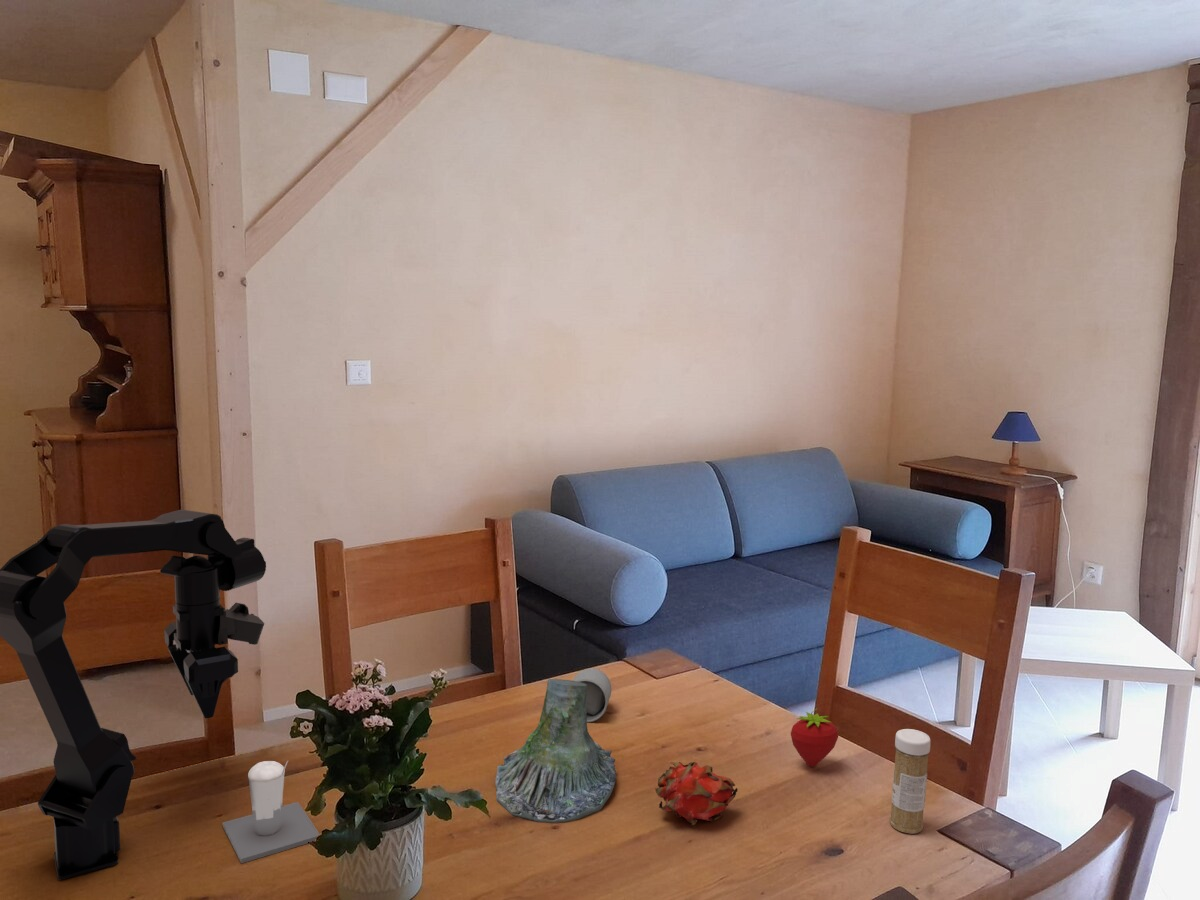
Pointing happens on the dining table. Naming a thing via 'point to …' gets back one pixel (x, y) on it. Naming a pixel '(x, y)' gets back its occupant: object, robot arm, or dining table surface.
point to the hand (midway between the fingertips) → (201, 705)
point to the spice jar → (909, 780)
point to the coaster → (255, 846)
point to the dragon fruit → (695, 792)
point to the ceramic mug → (595, 692)
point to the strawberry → (813, 738)
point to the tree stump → (557, 763)
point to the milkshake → (267, 796)
